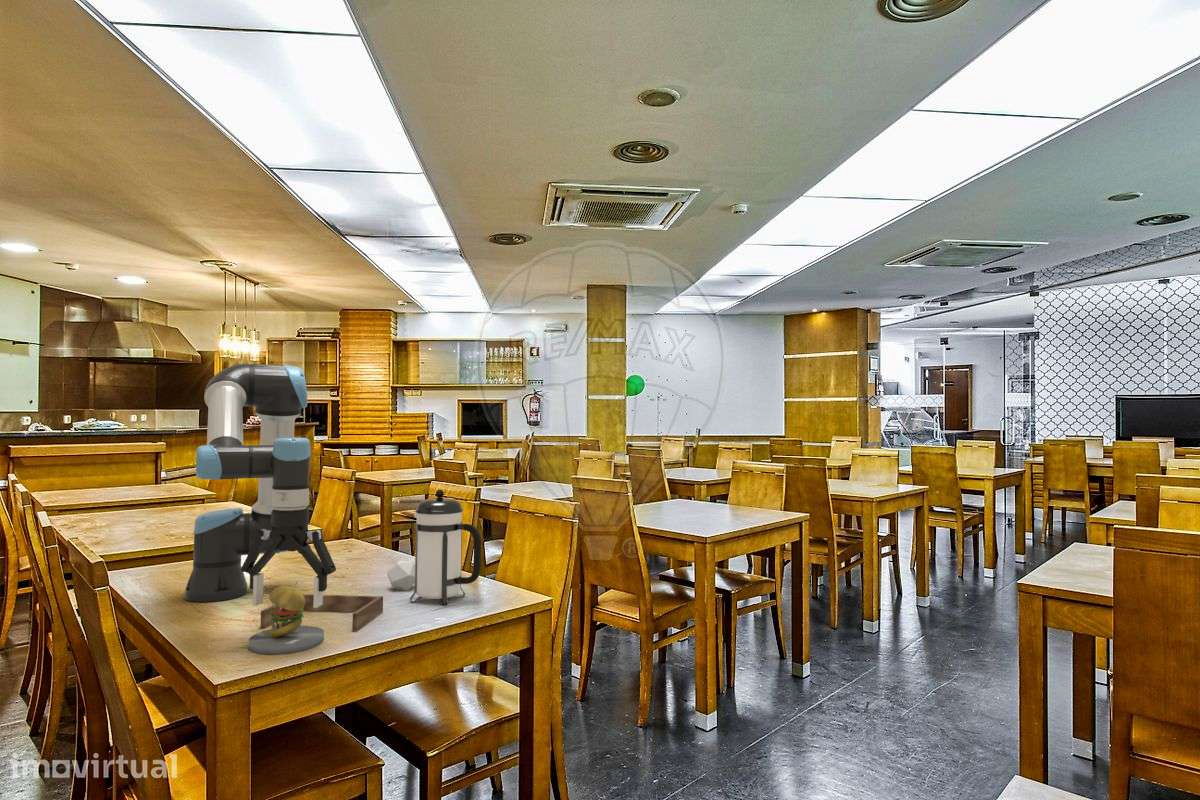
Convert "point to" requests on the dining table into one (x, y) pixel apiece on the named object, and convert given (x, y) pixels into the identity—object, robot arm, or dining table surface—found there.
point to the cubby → (339, 608)
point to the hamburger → (286, 610)
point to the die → (402, 575)
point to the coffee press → (441, 549)
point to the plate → (286, 641)
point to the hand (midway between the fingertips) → (287, 605)
